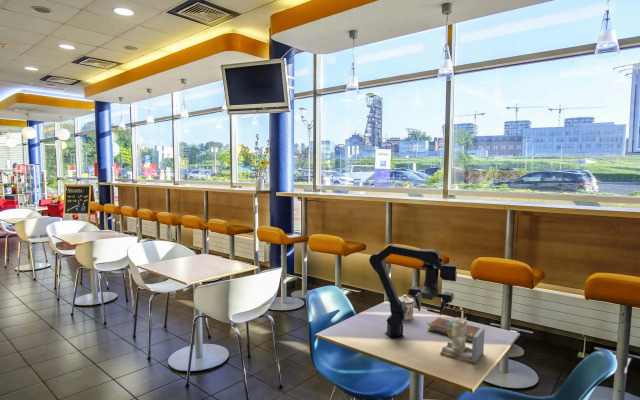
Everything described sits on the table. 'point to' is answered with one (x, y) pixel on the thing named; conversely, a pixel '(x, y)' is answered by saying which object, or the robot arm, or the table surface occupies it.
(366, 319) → the table surface
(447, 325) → the book
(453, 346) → the ash block
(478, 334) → the backstop wall
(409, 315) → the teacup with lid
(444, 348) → the rail board
